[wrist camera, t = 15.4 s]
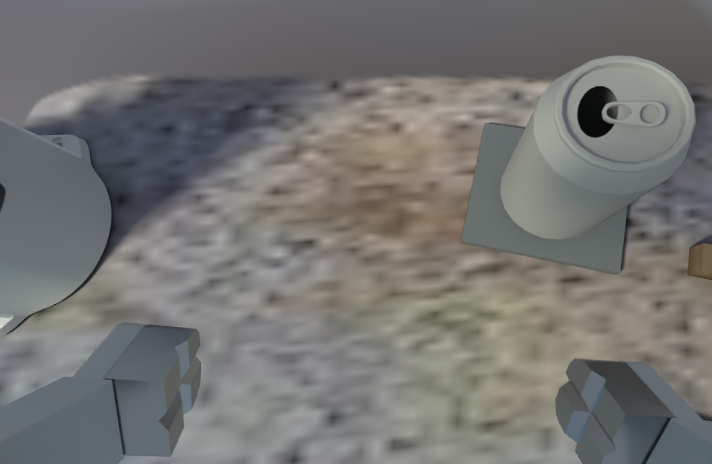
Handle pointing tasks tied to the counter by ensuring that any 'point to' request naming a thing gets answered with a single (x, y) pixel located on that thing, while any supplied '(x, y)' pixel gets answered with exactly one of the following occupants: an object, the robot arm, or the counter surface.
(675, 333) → the counter surface
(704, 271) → the walnut screen
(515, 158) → the can
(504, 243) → the slate mat
